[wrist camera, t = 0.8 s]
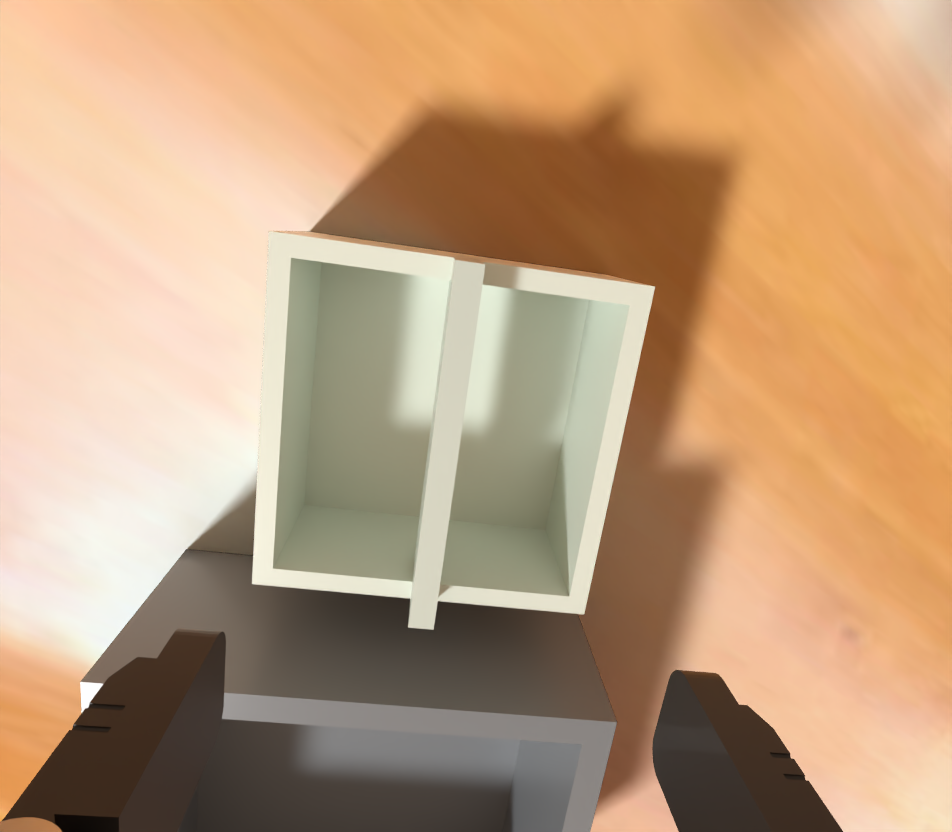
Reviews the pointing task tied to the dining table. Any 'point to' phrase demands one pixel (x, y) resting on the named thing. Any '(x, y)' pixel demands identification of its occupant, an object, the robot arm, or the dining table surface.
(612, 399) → the small crate
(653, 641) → the dining table surface
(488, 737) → the big crate
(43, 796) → the robot arm
